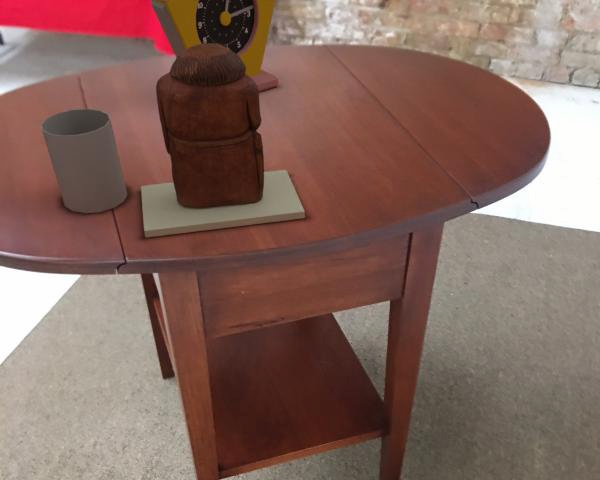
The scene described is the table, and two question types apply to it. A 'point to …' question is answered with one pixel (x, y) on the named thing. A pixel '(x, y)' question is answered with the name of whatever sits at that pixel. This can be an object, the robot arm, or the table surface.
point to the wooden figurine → (212, 128)
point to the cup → (85, 159)
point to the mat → (218, 208)
